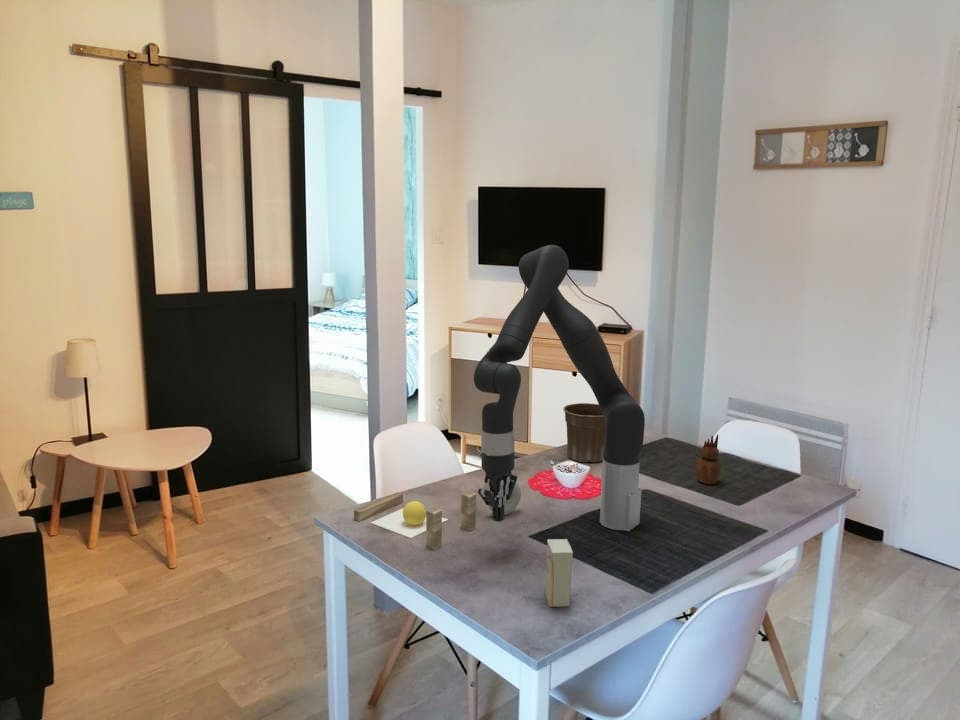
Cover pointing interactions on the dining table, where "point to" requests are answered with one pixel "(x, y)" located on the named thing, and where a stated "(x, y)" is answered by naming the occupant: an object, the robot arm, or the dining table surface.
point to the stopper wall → (378, 506)
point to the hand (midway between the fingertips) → (498, 520)
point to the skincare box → (558, 572)
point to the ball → (414, 513)
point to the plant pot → (585, 432)
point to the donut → (512, 500)
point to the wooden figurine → (709, 463)
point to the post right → (468, 511)
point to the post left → (434, 528)
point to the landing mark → (401, 524)
